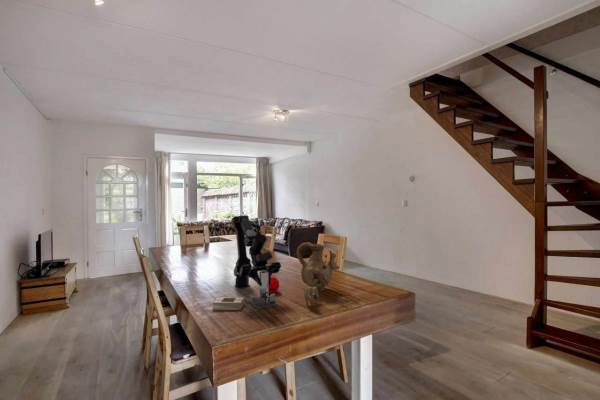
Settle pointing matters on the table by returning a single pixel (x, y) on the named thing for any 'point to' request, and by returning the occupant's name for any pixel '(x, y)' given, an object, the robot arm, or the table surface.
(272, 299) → the V-block
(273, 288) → the ball
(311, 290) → the lion figurine
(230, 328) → the table surface
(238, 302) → the block with rectangular hole
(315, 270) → the ceramic vessel
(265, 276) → the axle
